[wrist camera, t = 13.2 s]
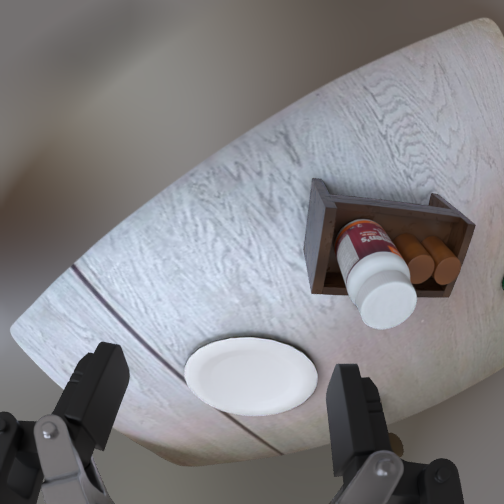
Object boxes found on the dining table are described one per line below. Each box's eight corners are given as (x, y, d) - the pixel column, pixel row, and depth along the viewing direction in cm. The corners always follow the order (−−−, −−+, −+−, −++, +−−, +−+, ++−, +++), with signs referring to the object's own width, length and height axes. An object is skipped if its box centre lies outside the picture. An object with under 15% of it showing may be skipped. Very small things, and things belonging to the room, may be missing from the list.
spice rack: (312, 177, 37) (329, 215, 27) (438, 194, 37) (484, 232, 27) (303, 249, 42) (313, 305, 32) (420, 257, 42) (455, 307, 31)
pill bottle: (392, 222, 32) (434, 280, 22) (375, 269, 35) (405, 336, 25) (341, 212, 32) (370, 270, 22) (326, 262, 35) (345, 331, 25)
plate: (164, 339, 52) (162, 346, 51) (308, 319, 48) (309, 327, 47) (210, 413, 64) (209, 419, 63) (322, 402, 60) (323, 409, 58)
